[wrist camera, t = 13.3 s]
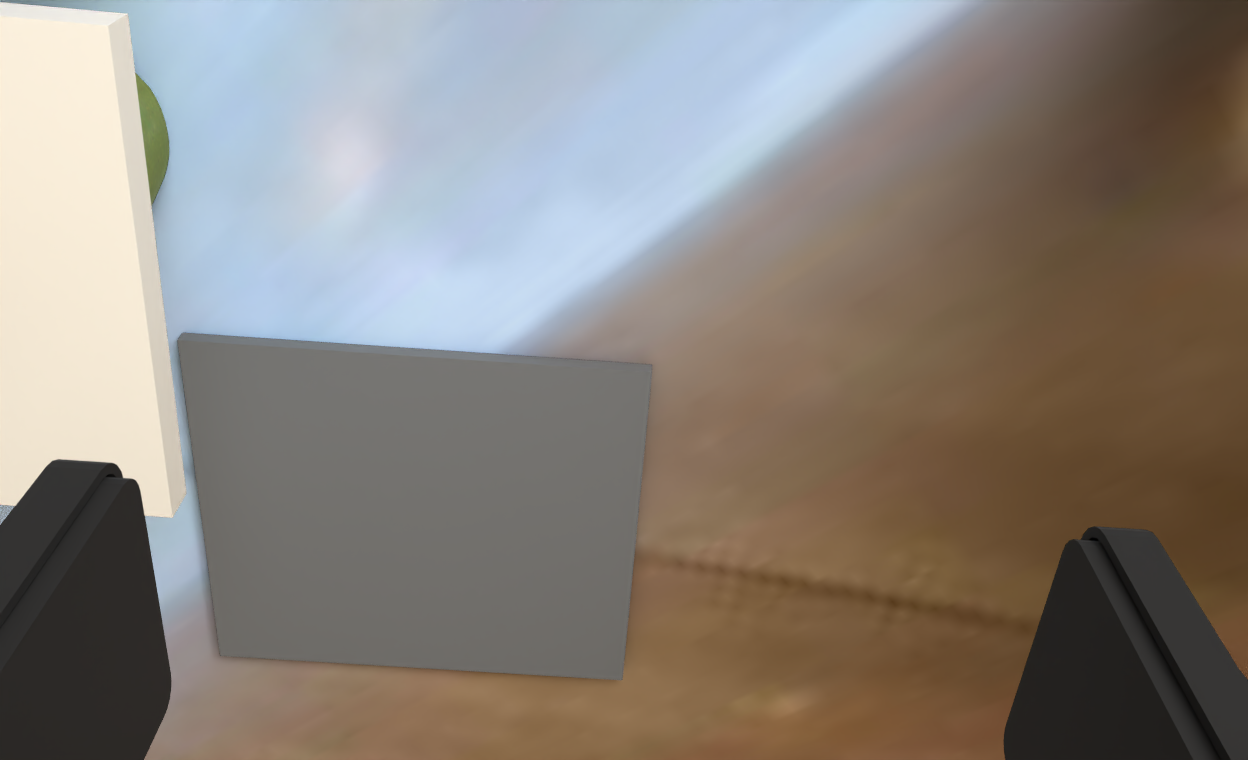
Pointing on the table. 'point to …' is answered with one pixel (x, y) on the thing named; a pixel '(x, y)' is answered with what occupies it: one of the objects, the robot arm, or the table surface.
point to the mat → (417, 503)
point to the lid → (79, 261)
